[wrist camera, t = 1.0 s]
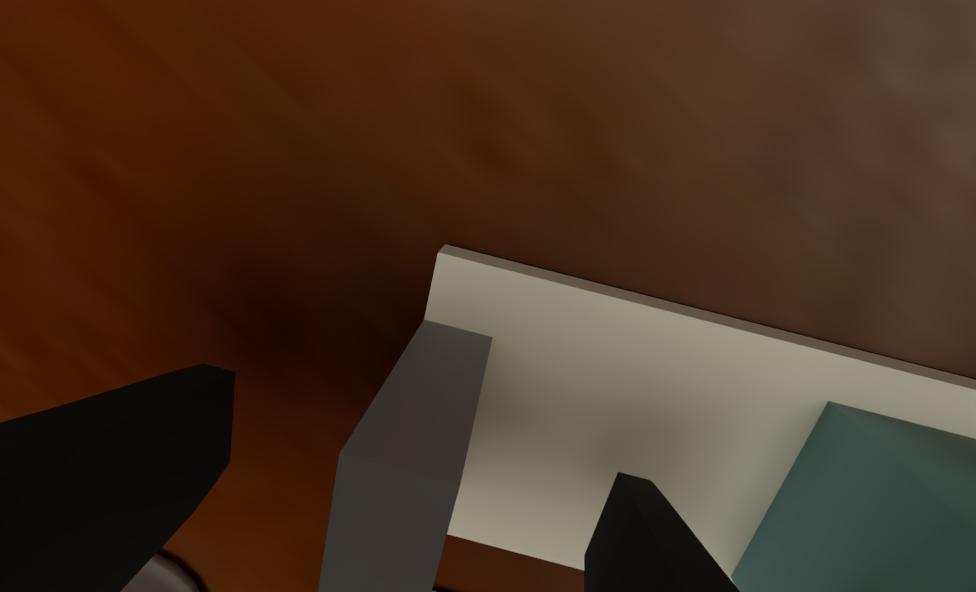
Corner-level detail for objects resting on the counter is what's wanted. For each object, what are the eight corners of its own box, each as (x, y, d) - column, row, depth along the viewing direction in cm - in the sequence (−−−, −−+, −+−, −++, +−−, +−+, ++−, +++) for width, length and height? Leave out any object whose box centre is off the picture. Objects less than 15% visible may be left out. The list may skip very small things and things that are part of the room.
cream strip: (1081, 406, 10) (1642, 678, 5) (908, 631, 12) (1170, 972, 7) (445, 244, 10) (355, 343, 5) (392, 494, 12) (296, 732, 7)
